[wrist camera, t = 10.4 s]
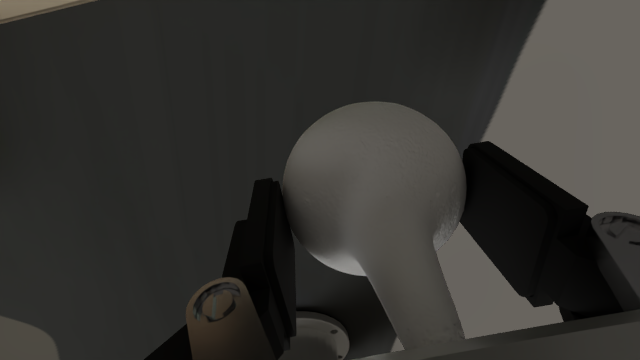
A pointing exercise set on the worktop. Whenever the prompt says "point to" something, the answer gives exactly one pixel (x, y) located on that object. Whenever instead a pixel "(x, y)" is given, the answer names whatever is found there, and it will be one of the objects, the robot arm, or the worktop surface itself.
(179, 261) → the worktop surface
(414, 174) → the garlic bulb
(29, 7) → the board
